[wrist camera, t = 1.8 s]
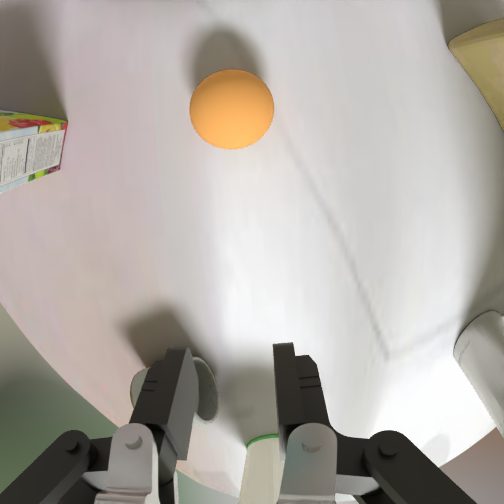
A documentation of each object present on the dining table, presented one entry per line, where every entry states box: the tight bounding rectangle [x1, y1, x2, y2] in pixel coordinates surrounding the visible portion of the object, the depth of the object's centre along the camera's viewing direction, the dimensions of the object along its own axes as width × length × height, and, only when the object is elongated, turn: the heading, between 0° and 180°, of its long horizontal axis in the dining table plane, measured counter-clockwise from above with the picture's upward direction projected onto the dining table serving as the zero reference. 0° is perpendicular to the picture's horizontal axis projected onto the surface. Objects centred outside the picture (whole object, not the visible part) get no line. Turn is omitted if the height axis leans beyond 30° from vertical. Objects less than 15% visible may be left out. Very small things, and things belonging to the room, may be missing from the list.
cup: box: [238, 435, 285, 504], centre depth 34 cm, size 12×12×15 cm
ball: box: [190, 69, 274, 149], centre depth 20 cm, size 6×6×6 cm
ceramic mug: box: [130, 357, 219, 425], centre depth 31 cm, size 11×8×8 cm
